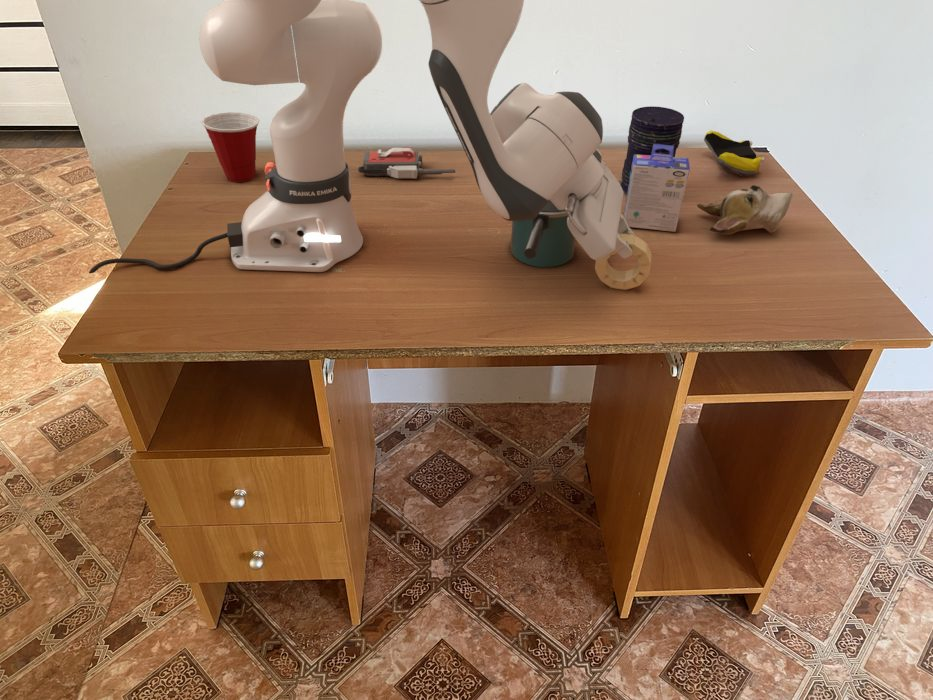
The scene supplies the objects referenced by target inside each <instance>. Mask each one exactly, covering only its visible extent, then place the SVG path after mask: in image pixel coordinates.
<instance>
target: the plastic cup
mask: <svg viewBox="0 0 933 700" xmlns="http://www.w3.org/2000/svg"><path fill="white" fill-rule="evenodd" d="M259 123H260V119H259V118H258V117H257V116H255V115H253V114H250V113H245V112H232V111H231V112H229V111H228V112H218V113H213V114H210V115H207V116H205V117H204V118H202V120H201V124H202V126H203V128H204V129H205V131H206V133H207V135H208V137H209V140H210V142H211V145H212V147H213V149H214V153H215V154H216V157H217V159H218V162H219V164H220V166H221V167H222V171H223V172H224V175H225V177H226V179H227V180H228V181H229V182H231V183H244V182H248V181H252V180H253V179H254V178H255V177H256V173H257V171H256V170H257V168H256V166H257V165H256V159H257V131H258V130H257V129H258V126H259Z"/></svg>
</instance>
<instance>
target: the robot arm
mask: <svg viewBox="0 0 933 700" xmlns="http://www.w3.org/2000/svg"><path fill="white" fill-rule="evenodd" d="M418 2H419V3H420V4H421V6H422V7H423V11H424V12H425V15H426V17H427V21H428V25H429V30H430V37H431V52H430V56H429V59H428V69H429V73H430V76H431V79H432V82H433V85H434V87H435V89H436V92H437V94H438V96H439V99H440V101H441V103H442V106H443V108H444V110H445V112H446V114H447V117H448V119H449V121H450V123H451V125H452V127H453V130H454V131H455V134H456V136H457V138H458V140H459V142H460V144H461V147H462V148H463V151H464V153H465V155H466V157H467V159H468V161H469V164H470V166H471V168H472V171H473V175H474V178H475V181H476V182H475V183H476V184H477V187H478V189H479V192H480V193H481V195H482V197H483V199H484V201H485V202H486V204H487V205H488V206H489V207H490V209H491V210H492V211H493V212H494V213H496V215H498V216H499V217H501V218H502V219H504V220H506V221H507V222H512V221H524V220H530V219H535V218H536V216H537V215H538V214H539V213H540V211H541V210H542V209H543V208H544V207H545V205H546V204H547V203H548V202H549V201H548V200H550V201H551V202H552V203H553V204H554V205H555V206H556V208H557V209H558V210H565V212H566V213H567V214H568V218H567V225H568V228H569V230H570V232H571V233H572V235H573V236H574V237H575V239H576V241H577V243H578V244H579V246H580V247H581V248H582V250H583V251H584V252H585V253H586V254H587V256H588V257H589V258H591V259H592V260H594V261H595V262H596V261H599V260H601V259H603V258H604V257H606V256H607V255H609V254H610V253H612V252H613V251H616V252H618V253H617V254H618V256H620V257H621V258H622V259H627V258H629V257H631V256H633V255H632V246H631V245H630V244H629V243H628V241H626V242H625V241H623V240H622V239H621V238H620V235H619V234H621V233H622V234H630V235H635V233H634V231H633V230H632V229H631V227H629V226H628V224H627V222H626V220H625V218H624V213H622V207H623V201H624V194H625V193H624V192H623V190H622V187H621V182H619V180H618V179H617V178H616V176H615V175H614V173H613V172H612V171H611V169H610V168H609V166H608V165H607V164H606V163H605V162H604V161H603V155H602V153H601V151H600V150H599V146H600V145H601V144H602V142H603V136H604V128H603V127H604V126H603V119H602V117H601V115H600V114H599V113H598V111H597V110H596V109H595V107H594V106H593V105H592V104H591V102H590V101H589V100H588V99H587V98H586V97H585V96H584V95H583V94H581V92H577V91H557V92H555V93H554V94H544V93H540V92H538V91H537V90H536V89H535V88H534V87H532V86H531V85H530V84H529V83H527V82H521V83H518V84H516V85H515V86H513V88H511V89H510V90H509V91H508V92H507V93H506V94H505V95H504V96H503V97H502V98H501V99H500V100H499V101H498V103H497V104H496V105H495V106H494V107H493V108H492V110H491V111H490V109H489V105H488V96H489V90H490V87H491V83H492V79H493V76H494V74H495V72H496V69H497V67H498V64H499V62H500V60H501V58H502V56H503V54H504V52H505V50H506V48H507V46H508V45H509V43H510V41H511V39H512V37H513V36H514V34H515V31H516V30H517V28H518V25H519V23H520V19H521V18H522V17H521V16H522V13H523V9H524V3H525V0H418ZM198 33H199V34H198V35H199V36H198V42H199V48H200V49H199V50H200V52H201V55H202V58H203V60H204V62H205V64H206V65H207V67H208V68H209V69H210V71H211V72H212V73H213V74H214V76H216V77H217V78H218V79H220V80H221V81H222V82H226V83H232V84H240V85H249V86H265V85H281V84H284V85H285V84H304V85H305V87H304V89H303V90H302V93H301V94H300V95H299V96H298V97H296V99H295V98H294V100H292V101H290V102H288V103H287V104H285V105H284V106H282V107H281V108H280V109H279V110H278V111H277V112H276V113H275V114H274V116H273V117H272V119H271V121H270V126H269V133H270V134H269V135H270V140H271V145H272V150H273V156H274V157H273V158H274V161H275V162H274V161H269V162H266V164H265V165H264V174H265V186H266V189H267V191H265V192H264V193H262V194H261V195H260V196H259V197H257V199H256V200H254V201H253V202H251V204H250V205H248V207H247V208H246V210H245V212H244V214H243V216H242V220H241V221H238V222H230V223H227V225H226V227H227V228H226V231H227V232H224V233H221V234H218V235H216V236H215V235H214V236H213V237H210V238H208V239H206V240H204V241H203V242H201V243H200V244H199V246H197V247H196V250H195V252H194V253H193V254H191V255H190V256H189V257H187V258H185V259H183V260H181V261H179V262H175V263H169V264H160V263H157V262H155V261H153V260H150V259H146V258H121V257H120V258H117V257H116V258H108V259H105V260H102V261H100V262H98V263H96V264H95V265H93V267H91V268H90V270H89V271H88V274H94V273H96V272H97V271H98V270H99V269H101V268H102V267H104V266H107V265H111V264H145V265H149V266H151V267H153V268H156V269H158V270H172V269H177V268H180V267H184V266H186V265H187V264H189V263H191V262H192V261H194V260H195V259H197V258H198V257H199V256H200V254H201V253H202V251H203V249H204V248H205V247H206V246H208V245H210V244H212V243H214V242H217V241H220V240H225V239H226V238H227V240H228V244H229V248H230V257H231V262H232V264H233V266H235V267H236V268H237V269H238V270H250V271H251V270H253V271H277V272H279V271H280V272H306V273H307V272H308V273H324V272H326V271H328V270H330V269H331V268H332V267H334V265H336V264H337V263H340V262H341V261H344V260H346V259H349V258H350V257H352V256H354V255H355V254H357V253H358V252H359V251H360V250H361V248H362V247H363V245H364V237H363V234H362V232H361V231H360V228H359V225H358V222H357V219H356V215H355V212H354V208H353V204H352V195H353V194H352V193H353V191H352V190H353V189H352V179H351V172H350V168H349V165H348V162H346V158H345V157H346V156H345V146H344V144H345V143H344V119H345V114H346V110H347V107H348V103H349V101H350V99H351V97H352V95H353V93H354V92H355V90H356V89H357V88H358V86H359V85H360V83H361V82H362V81H363V80H365V78H366V77H367V76H369V75H370V74H371V73H372V72H373V71H374V70H375V68H376V67H377V66H378V63H379V61H380V59H381V57H382V53H383V47H384V37H383V31H382V27H381V24H380V22H379V19H378V17H377V15H375V13H374V12H373V10H372V9H371V8H370V7H369V5H367V4H366V3H364V2H361V1H356V0H354V1H353V0H222V1H221V2H220V3H218V4H217V5H215V6H213V7H212V8H210V9H208V11H206V13H205V15H204V17H203V18H202V21H201V24H200V27H199V32H198Z"/></svg>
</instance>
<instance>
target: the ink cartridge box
mask: <svg viewBox="0 0 933 700" xmlns="http://www.w3.org/2000/svg"><path fill="white" fill-rule="evenodd" d="M657 149H666V150H668V151H670V153H669V154H660V153H656V152H655V150H657ZM673 149H674V146H671V145H661V144H653V149H652V153H651V155H637V154H634V156H633V162H632V168H631V173H630V180H629V186H628V192H627V194H626V199H625V206H624V212H623V216H624V218H625V220H626V222H627V224H628V226H629V228H635V229H643V230H644V229H645V230H654V231H663V232H673V233H675V232H677V229H678V228H677V227H678V223H679V220H680V219H679V218H680V215H681V210H682V206H683V201H684V197H685V192H686V187H687V183H688V179H689V176H690V175H689V174H690V170H691V167H690V161H689V157H680V156H679V157H677V156H675V157H673Z"/></svg>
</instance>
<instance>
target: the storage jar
mask: <svg viewBox="0 0 933 700" xmlns="http://www.w3.org/2000/svg"><path fill="white" fill-rule="evenodd" d="M684 121H685V115H684V114H683V113H682V112H679V110H675V109H673V108H670V107H669V108H668V107H664V106H642V107H638V108H636V109H634V110H633V111H632V113H631V120H630V124H629V128H628V136H627V143H628V144H627V150H626V157H625V159H624V161H623V167H622V170H621V182H620V185H621V187H622V190H623V192H624V194H625V195H627V192H628V186H629V180H630V173H631V168H632V162H633V156H634V154H637V155H651V153H652V149H653V144H661V145H671V146H674V149H673V157H676V153H677V149H678V148H679V145H680V143H681V141H680V140H681V138H682V133H683V124H684ZM655 152H656V153H660V154H669V153H670V151H668V150H666V149H657V150H655Z"/></svg>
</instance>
